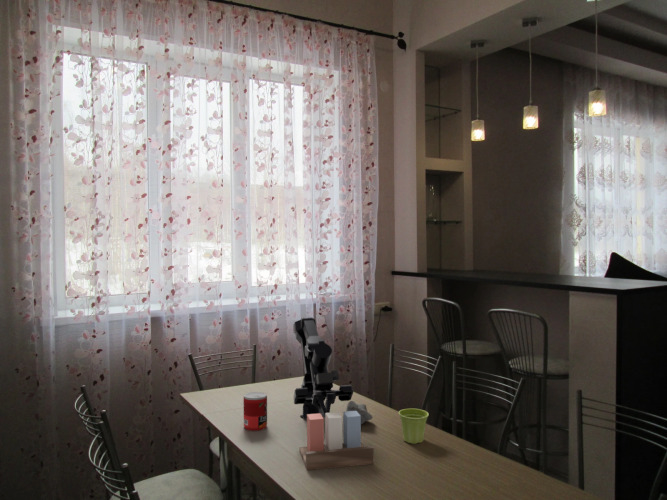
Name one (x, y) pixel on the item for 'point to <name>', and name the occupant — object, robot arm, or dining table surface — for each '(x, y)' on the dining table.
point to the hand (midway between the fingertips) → (327, 419)
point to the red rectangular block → (315, 432)
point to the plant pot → (413, 424)
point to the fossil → (359, 410)
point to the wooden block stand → (336, 457)
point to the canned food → (255, 411)
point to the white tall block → (333, 430)
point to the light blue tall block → (351, 429)
